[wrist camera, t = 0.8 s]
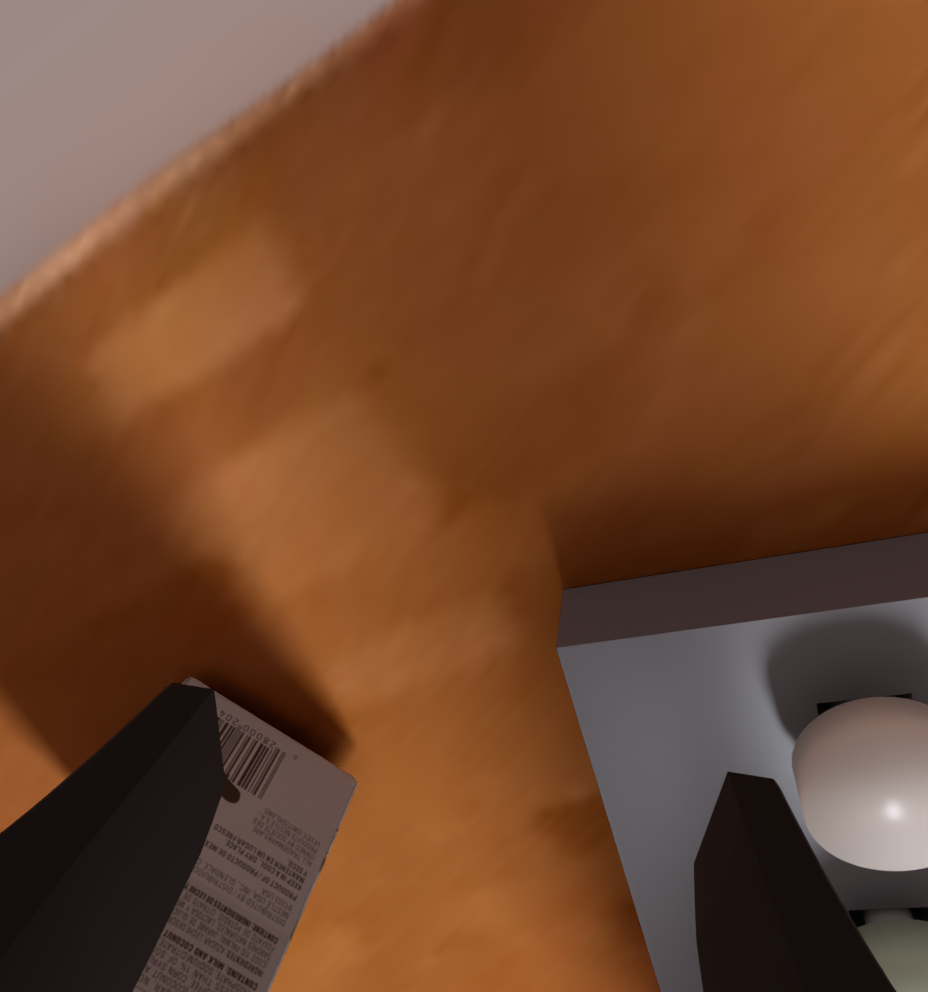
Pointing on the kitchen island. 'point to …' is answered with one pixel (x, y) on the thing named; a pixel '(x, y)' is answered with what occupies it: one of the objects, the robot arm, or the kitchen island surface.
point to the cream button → (867, 782)
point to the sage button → (898, 946)
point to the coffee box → (251, 861)
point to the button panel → (734, 706)
